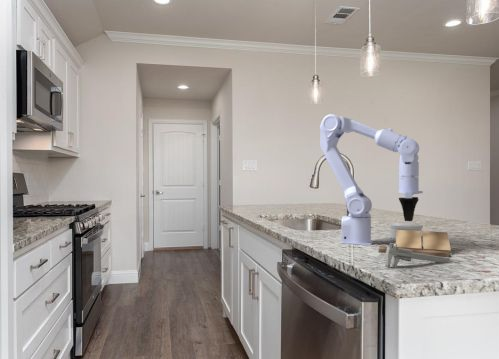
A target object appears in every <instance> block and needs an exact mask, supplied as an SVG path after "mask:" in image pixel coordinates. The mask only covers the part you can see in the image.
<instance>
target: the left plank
mask: <svg viewBox="0 0 499 359" xmlns="http://www.w3.org/2000/svg"><path fill="white" fill-rule="evenodd" d="M395 244H397V247H402V248H417V249H423V245H422V231H412V230H397V232H396V239H395Z"/></svg>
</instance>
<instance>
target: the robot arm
mask: <svg viewBox="0 0 499 359" xmlns="http://www.w3.org/2000/svg"><path fill="white" fill-rule="evenodd" d="M319 131H320V134H319V137H320V138H319V139H320V140H319V142H320V143H319V146H320V150H321V152H322V153H323V155H324V157H325V159H326V160H327V162H328V164H329V167H330V168H331V170H332V172H333V174H334V176H335V178H336V180H337V181H338V183H339V185H340V187H341V189H342V191H343V193H344V199H345V201H346V208H347V211H348V212H349V213H348V215H342V217H341V224H340V225H341V231H340V235H341V236H340V237H341V238H340V239H341V242H340V244H347V245H361V246H372V244H373V242H374V241H373V239H372V235H371V234H372V215H371V213H370V211H371V210H372V205H373V203H372V201H371V199H370V197H368V196H366V195H365V194H364V191H363V190H362V189H361V187H359V185H358V184H357V182H356V180H355V178H354V177H353V174H352V172H351V171H350V169H349V167H348V166H347V163H346V161H345V160H344V157H343V156H342V154H341V152H340V150H339V148H338V146H337V145H338V143H339V140H340V139H341V138H342V136H343V135H344V133H345V134H348V133H352V132H354V133H356V134H359V135H361V136H365V137H367V138H370V139H373V140H374V142H375V144H376V146H378V147H381V148H382V149H386V150H388V151H391V152H393V153H399V162H398V190H397V194H401V195H404V197H398V201H399V203H400V205H401V208H402V213H403V220H404V222H413V220H414V214H415V209H416V206H417V204H418V202H419V197H417V196H414V195H419V194H423V193H424V192H423V191H421V190H419V187H420V186H419V185H420V184H419V180H420V179H419V176H420V171H419V170H420V168H419V167H420V166H419V154H418V153H419V151H420V145H419V143H418V141H416V140H415V139H413V138H410V137H409V138H407V137H408V135H406V134H403V135H402V134H400V133H397V132H395V131H394V130H393V129H392V128H390V127H388V129H387V128H383V129H379V130H378V129H375V128H373V127H371V126H368V125H367V124H364V123H362V122H359V121H356V120H354V119H352V118H349V117H348V118H347V117H344V116H341V115H340V116H339V117H338V115H336V114H333V113H329V114H327V115H326V116H324V117H323V119H322V121H321V123H320V126H319ZM371 239H372V240H371Z"/></svg>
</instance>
